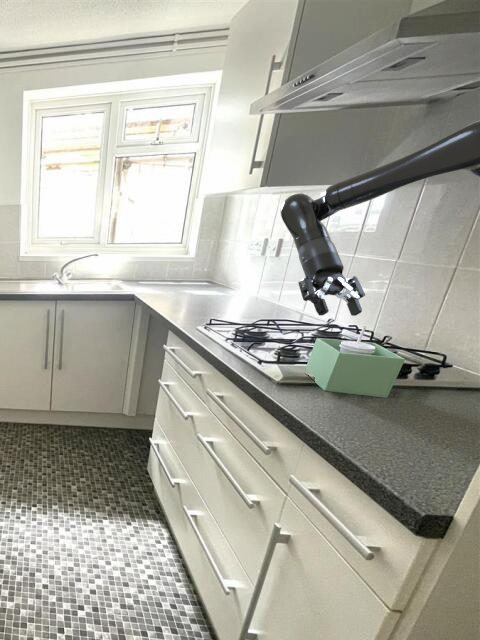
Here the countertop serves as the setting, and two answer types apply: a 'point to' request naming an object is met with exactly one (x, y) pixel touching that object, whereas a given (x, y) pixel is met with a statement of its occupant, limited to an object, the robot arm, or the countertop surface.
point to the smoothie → (357, 346)
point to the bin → (353, 369)
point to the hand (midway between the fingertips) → (340, 314)
